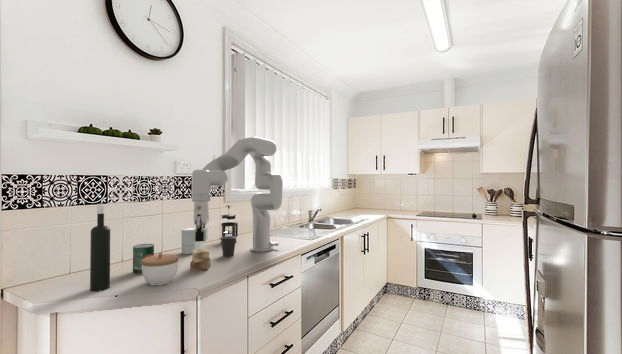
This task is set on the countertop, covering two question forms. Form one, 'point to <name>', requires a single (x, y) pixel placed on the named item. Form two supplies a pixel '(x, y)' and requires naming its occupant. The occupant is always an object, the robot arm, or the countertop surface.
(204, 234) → the sage cube
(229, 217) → the french press
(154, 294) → the countertop surface
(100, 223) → the wine bottle
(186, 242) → the supplement box
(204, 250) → the oak block
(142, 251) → the canned tomato
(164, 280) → the lidded bowl
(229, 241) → the coffee cup
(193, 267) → the walnut block
